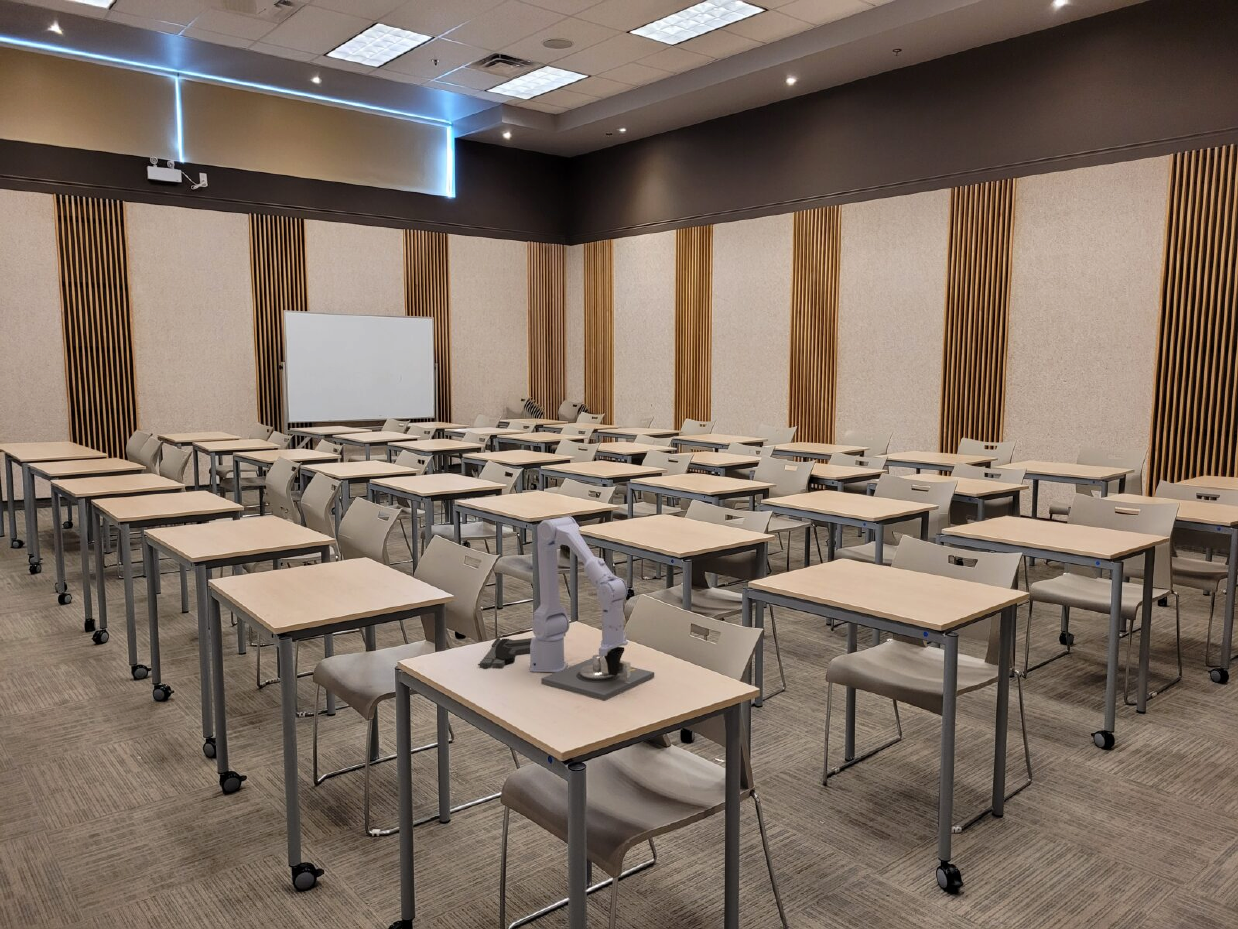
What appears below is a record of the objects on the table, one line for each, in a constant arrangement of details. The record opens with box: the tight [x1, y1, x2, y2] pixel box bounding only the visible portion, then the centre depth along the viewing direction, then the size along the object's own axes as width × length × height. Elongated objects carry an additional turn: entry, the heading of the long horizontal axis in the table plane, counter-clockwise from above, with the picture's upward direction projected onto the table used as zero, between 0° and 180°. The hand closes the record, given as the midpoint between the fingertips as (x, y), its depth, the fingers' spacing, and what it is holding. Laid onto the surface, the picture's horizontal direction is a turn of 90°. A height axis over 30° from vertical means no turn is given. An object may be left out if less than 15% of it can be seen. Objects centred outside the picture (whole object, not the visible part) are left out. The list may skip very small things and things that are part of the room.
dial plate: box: [540, 657, 655, 702], centre depth 241 cm, size 22×22×2 cm
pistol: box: [477, 637, 533, 670], centre depth 264 cm, size 2×26×15 cm
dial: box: [580, 654, 631, 680], centre depth 239 cm, size 16×10×5 cm, turn 52°
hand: (613, 674), depth 235 cm, fingers closed, pressing on dial
